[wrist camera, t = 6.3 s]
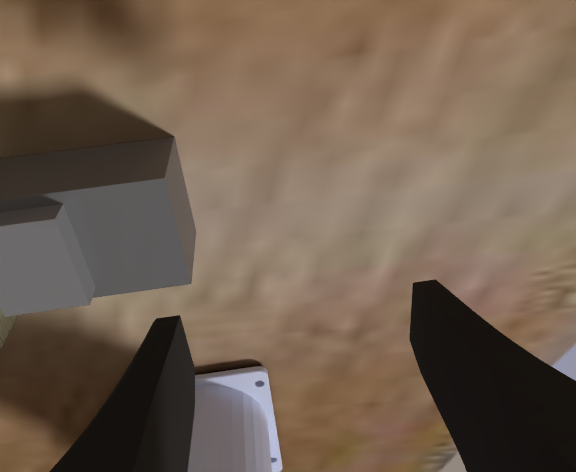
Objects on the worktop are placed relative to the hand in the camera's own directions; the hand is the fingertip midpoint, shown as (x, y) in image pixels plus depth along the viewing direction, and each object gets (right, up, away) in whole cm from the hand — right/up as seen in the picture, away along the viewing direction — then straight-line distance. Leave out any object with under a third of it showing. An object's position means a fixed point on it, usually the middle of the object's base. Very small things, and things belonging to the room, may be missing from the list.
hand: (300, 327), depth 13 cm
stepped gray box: (-8, +4, +8) cm, 12 cm away
